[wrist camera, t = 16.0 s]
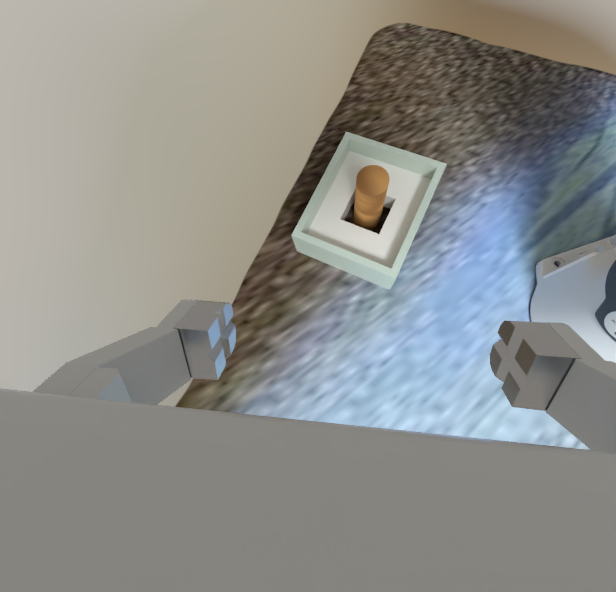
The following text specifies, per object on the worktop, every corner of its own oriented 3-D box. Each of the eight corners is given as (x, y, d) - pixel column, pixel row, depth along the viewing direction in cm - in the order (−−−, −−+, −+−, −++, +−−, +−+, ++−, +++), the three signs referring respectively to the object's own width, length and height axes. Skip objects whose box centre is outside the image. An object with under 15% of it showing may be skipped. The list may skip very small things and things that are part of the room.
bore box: (345, 157, 51) (346, 131, 45) (435, 187, 48) (446, 163, 42) (297, 251, 47) (291, 235, 42) (389, 290, 44) (395, 278, 39)
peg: (370, 202, 48) (378, 159, 39) (385, 222, 47) (395, 183, 37) (348, 215, 48) (350, 174, 38) (362, 235, 47) (367, 199, 37)
